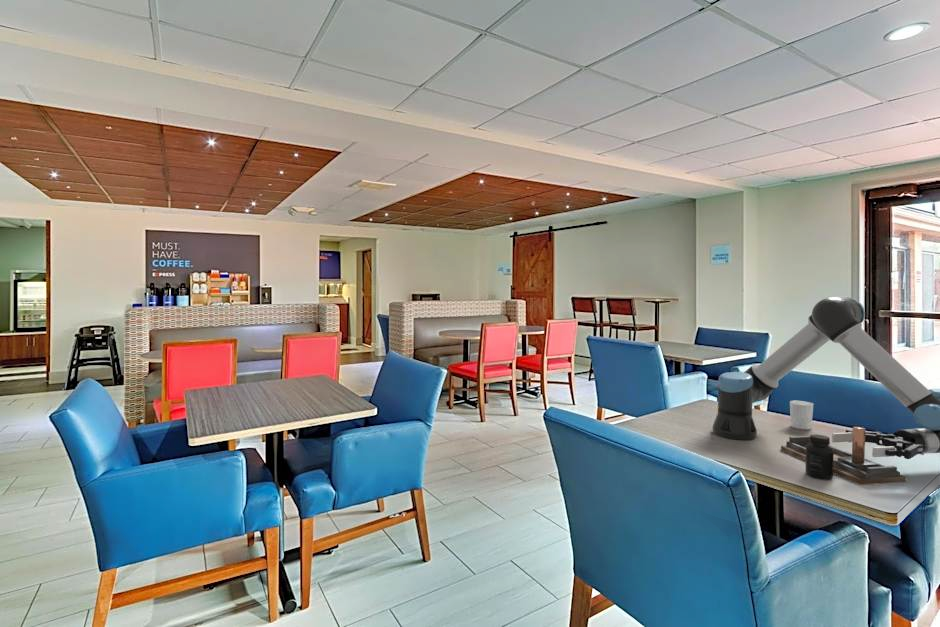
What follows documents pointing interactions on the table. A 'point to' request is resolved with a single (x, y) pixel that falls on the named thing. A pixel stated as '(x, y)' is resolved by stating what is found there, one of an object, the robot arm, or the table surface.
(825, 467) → the supplement bottle
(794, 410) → the white cup
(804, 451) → the slide board
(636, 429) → the table surface
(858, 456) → the carriage
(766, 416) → the table surface
